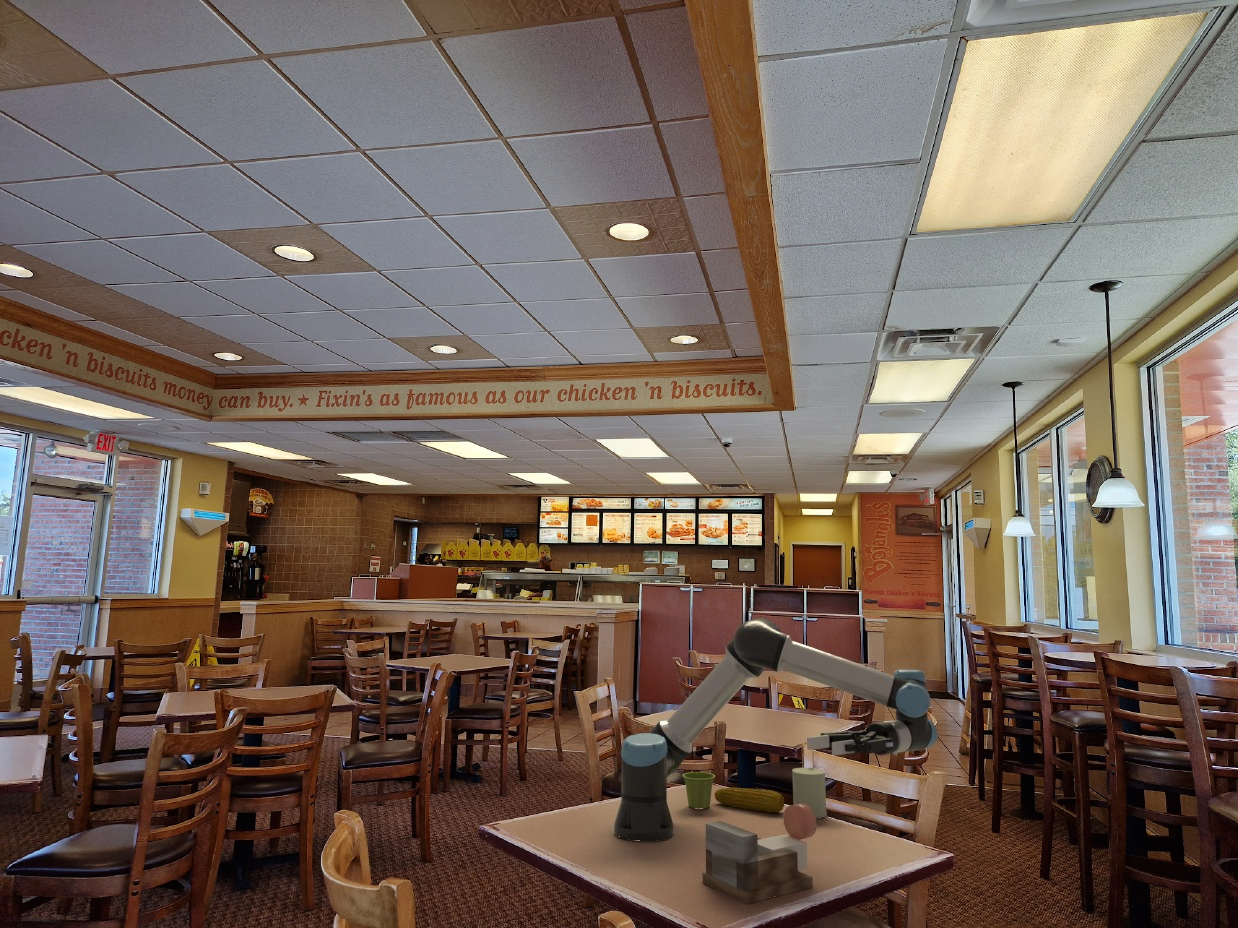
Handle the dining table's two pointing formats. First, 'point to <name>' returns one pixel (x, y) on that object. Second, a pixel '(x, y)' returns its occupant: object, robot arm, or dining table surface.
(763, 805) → the food
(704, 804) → the plant pot
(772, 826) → the dining table surface
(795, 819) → the plunger
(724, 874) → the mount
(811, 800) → the can
